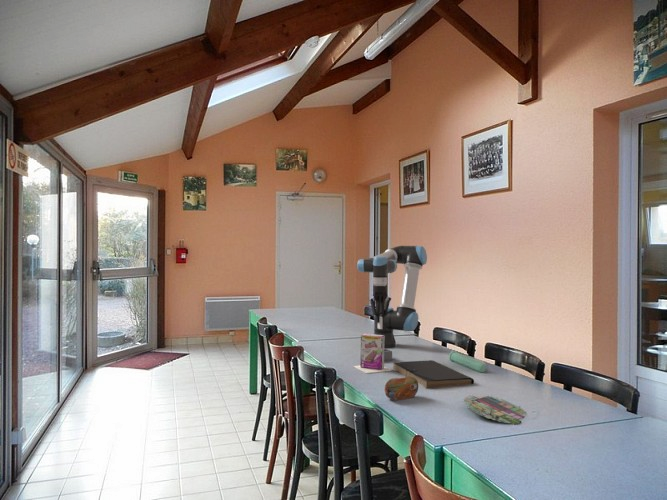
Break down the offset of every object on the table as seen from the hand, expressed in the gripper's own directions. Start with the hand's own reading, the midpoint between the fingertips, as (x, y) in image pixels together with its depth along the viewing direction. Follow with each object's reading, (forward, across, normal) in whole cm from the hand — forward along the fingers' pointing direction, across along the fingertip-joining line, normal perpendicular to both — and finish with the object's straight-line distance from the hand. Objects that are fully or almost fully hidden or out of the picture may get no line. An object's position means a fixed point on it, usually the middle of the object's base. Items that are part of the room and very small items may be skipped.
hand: (379, 328), depth 248 cm
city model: (+16, -1, -88) cm, 89 cm away
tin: (+16, -24, -60) cm, 67 cm away
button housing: (+17, 0, 0) cm, 17 cm away
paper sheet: (+16, -14, -16) cm, 27 cm away
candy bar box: (+16, -14, -16) cm, 27 cm away
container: (+17, +34, -30) cm, 49 cm away
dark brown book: (+17, +6, -38) cm, 42 cm away
